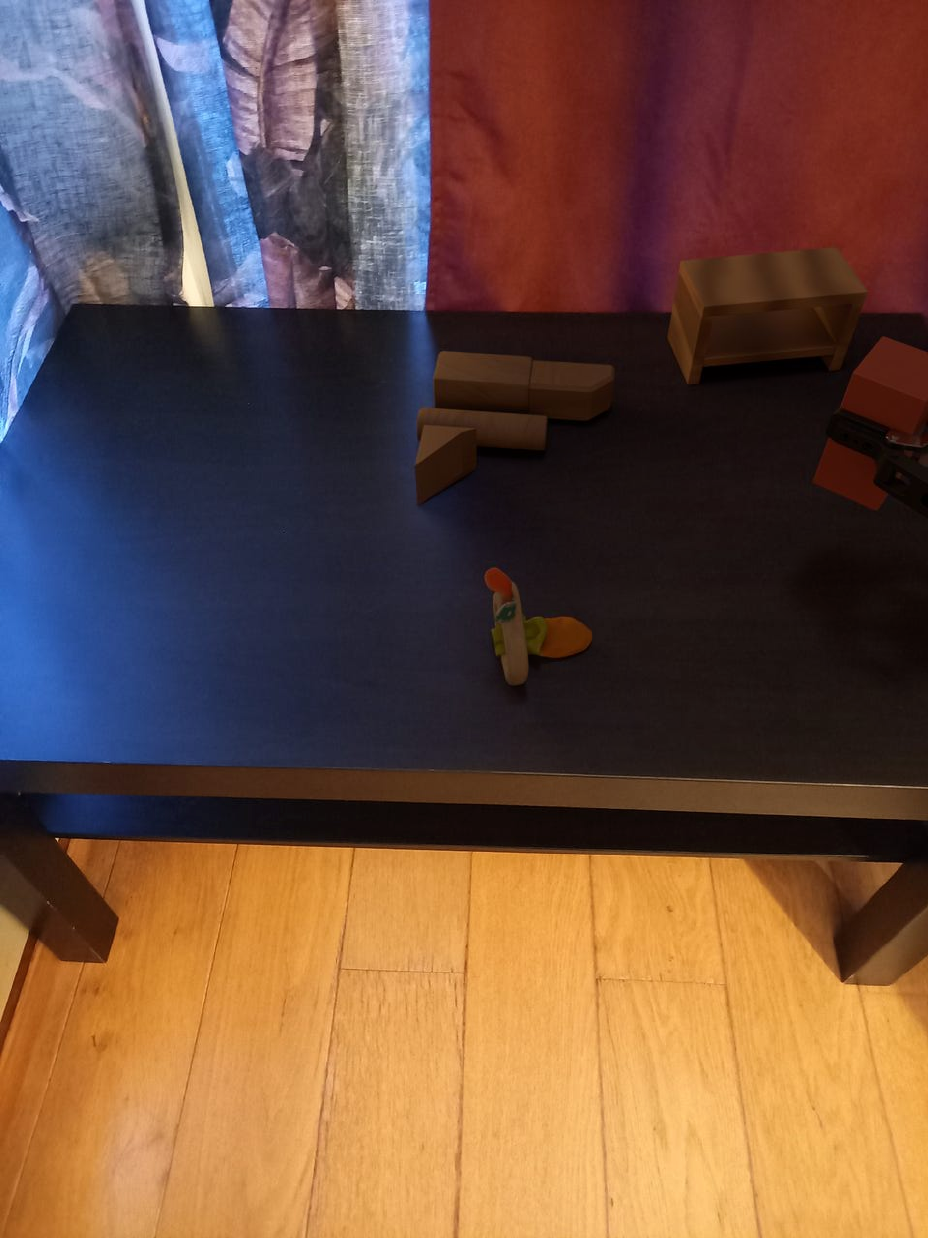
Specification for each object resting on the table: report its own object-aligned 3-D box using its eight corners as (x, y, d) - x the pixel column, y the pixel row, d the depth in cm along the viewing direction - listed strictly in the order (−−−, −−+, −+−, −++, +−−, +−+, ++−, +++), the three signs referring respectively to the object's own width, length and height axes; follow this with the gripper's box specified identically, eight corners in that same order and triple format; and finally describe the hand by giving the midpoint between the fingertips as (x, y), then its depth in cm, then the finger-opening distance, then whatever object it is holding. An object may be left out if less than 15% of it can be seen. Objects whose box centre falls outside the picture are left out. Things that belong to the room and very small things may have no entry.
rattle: (588, 708, 71) (602, 614, 62) (481, 697, 72) (480, 603, 63) (592, 630, 76) (606, 532, 67) (491, 621, 77) (492, 523, 68)
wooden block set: (429, 339, 91) (616, 351, 90) (432, 387, 96) (610, 399, 94) (401, 457, 81) (612, 472, 79) (405, 504, 85) (605, 519, 84)
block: (903, 472, 70) (955, 361, 62) (876, 511, 68) (927, 401, 60) (840, 446, 72) (882, 335, 64) (811, 482, 70) (852, 372, 62)
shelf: (812, 324, 101) (837, 246, 94) (840, 370, 96) (868, 291, 89) (667, 337, 100) (680, 260, 93) (687, 384, 95) (703, 306, 88)
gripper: (1163, 395, 60) (905, 305, 67) (1099, 526, 53) (818, 411, 60) (1103, 481, 66) (871, 390, 73) (1038, 609, 59) (788, 495, 66)
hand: (848, 400), depth 66 cm, fingers closed on block, 5 cm apart
